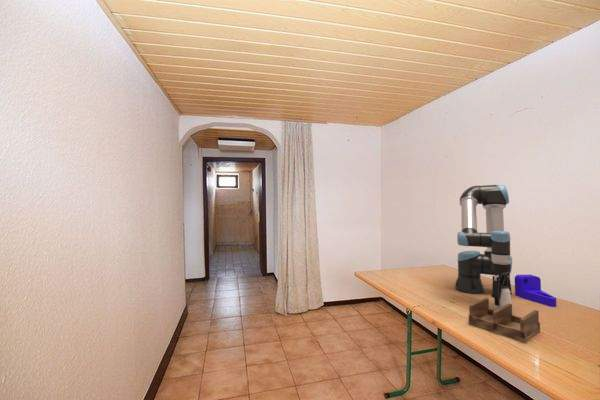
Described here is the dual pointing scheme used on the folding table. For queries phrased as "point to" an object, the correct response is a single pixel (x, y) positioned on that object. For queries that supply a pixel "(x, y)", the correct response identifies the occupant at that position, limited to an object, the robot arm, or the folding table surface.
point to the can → (505, 296)
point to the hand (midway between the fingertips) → (502, 309)
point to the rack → (504, 321)
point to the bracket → (532, 290)
